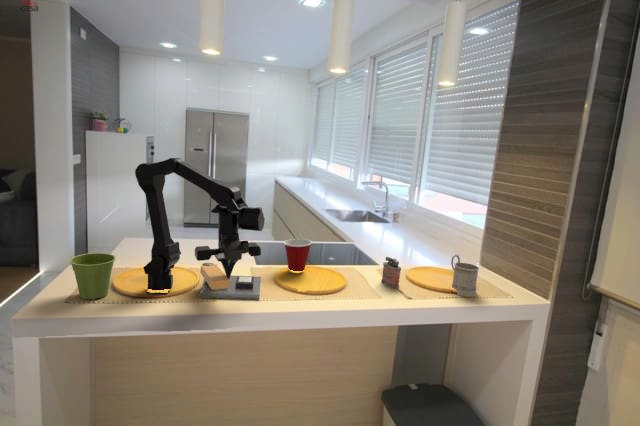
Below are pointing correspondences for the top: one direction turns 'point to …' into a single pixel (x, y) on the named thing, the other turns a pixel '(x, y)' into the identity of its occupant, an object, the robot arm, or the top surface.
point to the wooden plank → (214, 276)
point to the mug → (464, 278)
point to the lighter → (391, 273)
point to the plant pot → (93, 274)
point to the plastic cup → (297, 253)
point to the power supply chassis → (235, 288)
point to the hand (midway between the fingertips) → (228, 278)
